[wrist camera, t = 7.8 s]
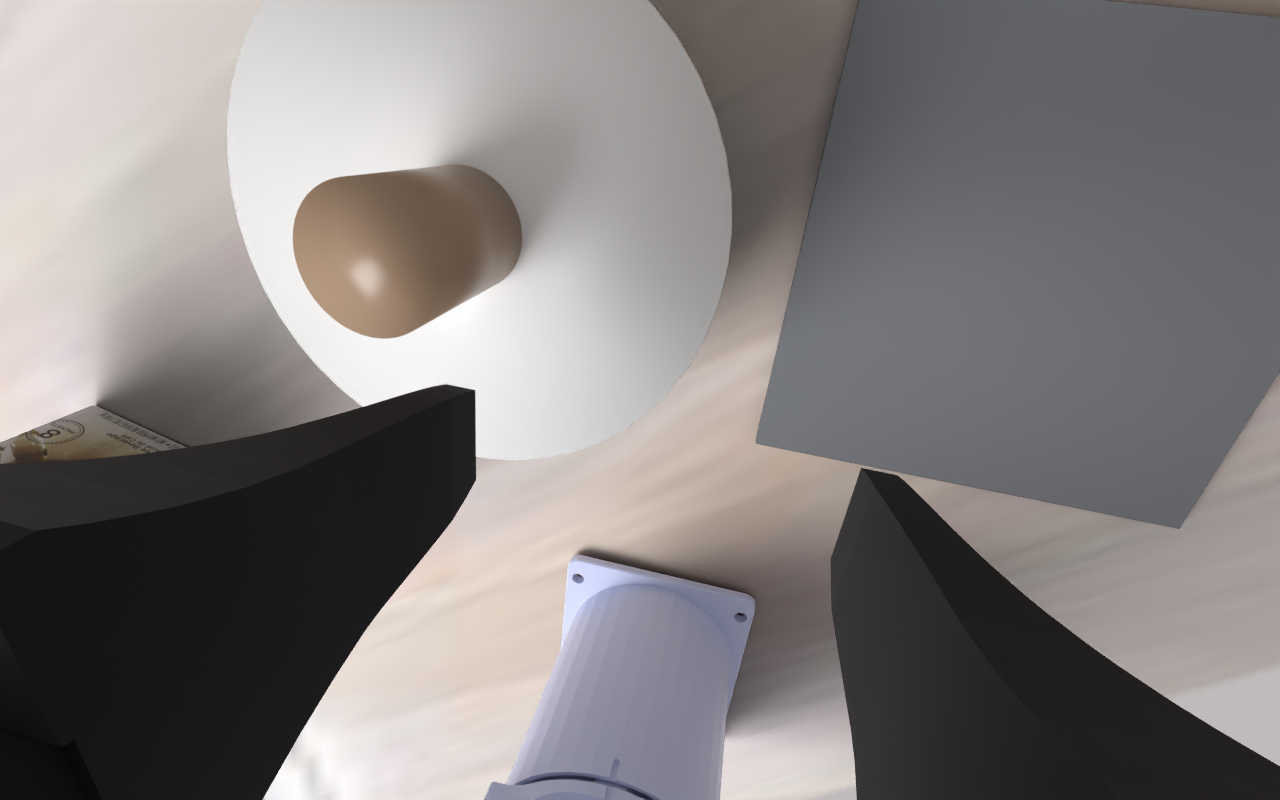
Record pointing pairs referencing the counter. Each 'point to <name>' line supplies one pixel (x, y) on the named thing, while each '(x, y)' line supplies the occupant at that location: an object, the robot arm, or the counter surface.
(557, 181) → the lid
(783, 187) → the counter surface
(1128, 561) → the counter surface
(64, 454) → the coffee box
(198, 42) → the counter surface
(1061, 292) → the mat
